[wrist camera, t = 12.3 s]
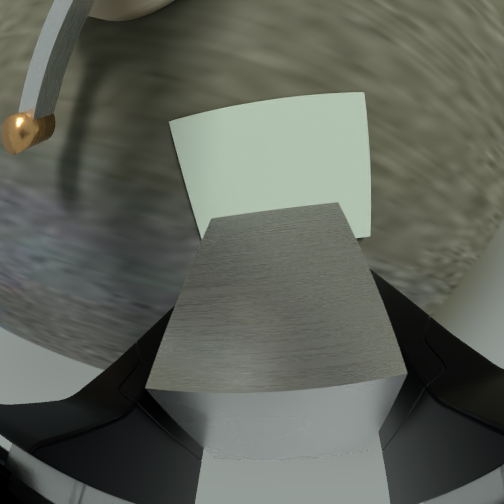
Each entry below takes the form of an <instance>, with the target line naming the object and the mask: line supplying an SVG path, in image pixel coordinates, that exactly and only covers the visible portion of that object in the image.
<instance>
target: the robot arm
mask: <svg viewBox="0 0 504 504" xmlns="http://www.w3.org/2000/svg"><path fill="white" fill-rule="evenodd" d="M370 272H371V274H372V276H373V279H374V281H375V284H376V286H377V288H378V291H379V293H380V296H381V299H382V301H383V304H384V306H385V309H386V312H387V314H388V317H389V320H390V322H391V325H392V328H393V331H394V334H395V336H396V339H397V342H398V345H399V348H400V351H401V354H402V357H403V361H404V364H405V367H406V370H407V375H406V378H405V380H404V382H403V384H402V387H401V389H400V391H399V393H398V395H397V397H396V399H395V401H394V403H393V405H392V407H391V409H390V411H389V413H388V415H387V417H386V419H385V421H384V423H383V424H382V426H381V428H380V430H379V431H378V432H379V437H380V442H381V447H382V451H383V452H382V453H383V459H384V464H385V470H386V476H387V482H388V489H389V496H390V503H391V504H420V503H422V502H424V504H504V369H502V368H500V367H498V366H497V365H495V364H493V363H492V362H491V361H489V360H488V359H486V358H485V357H484V356H482V355H481V354H479V353H478V352H476V351H475V350H474V349H472V348H471V347H469V346H468V345H467V344H465V343H464V342H462V341H461V340H460V339H458V338H457V337H456V336H454V335H453V334H451V333H450V332H449V331H448V330H446V329H445V328H444V327H443V326H441V325H440V324H439V323H438V322H436V321H435V320H434V319H433V318H432V317H430V316H429V315H428V314H427V313H425V312H424V311H423V310H422V309H421V308H419V307H418V306H417V305H416V304H414V303H413V302H412V301H411V300H409V299H408V298H407V297H406V296H404V295H403V294H402V293H401V292H399V291H398V290H397V289H395V288H394V287H393V286H392V285H390V284H389V283H388V282H386V281H385V280H384V279H383V278H381V277H380V276H379V275H377V274H376V273H375V272H373V271H372V270H371V269H370ZM174 307H175V306H174ZM174 307H173V308H172V309H171V310H169V311H168V312H167V313H166V314H165V315H164V316H163V317H162V318H161V319H160V320H159V321H158V322H157V323H156V324H155V325H154V326H153V327H152V328H151V329H149V330H148V331H147V332H146V333H145V334H144V335H143V336H142V337H141V338H140V339H139V340H138V341H137V343H135V344H134V345H133V346H132V347H131V348H129V349H128V350H127V351H126V352H125V353H124V354H123V355H122V356H121V357H120V358H119V359H118V360H116V361H115V362H114V363H113V364H112V365H111V366H109V367H108V368H107V369H106V370H105V371H103V372H102V373H101V374H100V375H99V376H97V377H96V378H95V379H93V380H92V381H91V382H90V383H89V384H87V385H86V386H85V387H84V388H82V389H81V390H80V391H79V392H77V393H76V394H74V395H73V396H71V397H69V398H66V399H63V400H59V401H50V402H42V403H29V404H14V405H4V404H0V434H1V435H2V436H3V437H5V438H6V439H7V440H9V441H10V442H11V443H12V446H11V448H10V451H8V450H6V449H5V448H3V447H2V446H1V445H0V504H195V499H196V492H197V486H198V480H199V473H200V468H201V460H202V455H203V449H204V448H203V447H202V446H201V445H199V444H198V443H197V442H196V441H195V440H194V439H193V438H192V437H191V436H190V435H189V434H188V433H187V432H186V431H185V430H184V429H183V428H182V427H181V426H180V425H179V424H178V423H177V422H176V421H175V420H174V419H173V418H172V417H171V416H170V415H169V414H168V413H167V412H166V411H165V410H164V409H163V408H162V407H161V406H160V404H159V403H158V402H157V401H156V400H155V399H154V398H153V397H152V396H151V394H150V393H149V392H148V391H147V390H146V389H145V387H146V384H147V381H148V378H149V375H150V372H151V369H152V367H153V364H154V361H155V358H156V355H157V353H158V350H159V347H160V344H161V342H162V339H163V336H164V333H165V331H166V328H167V325H168V323H169V320H170V318H171V315H172V312H173V310H174ZM429 317H430V318H429Z"/></svg>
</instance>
